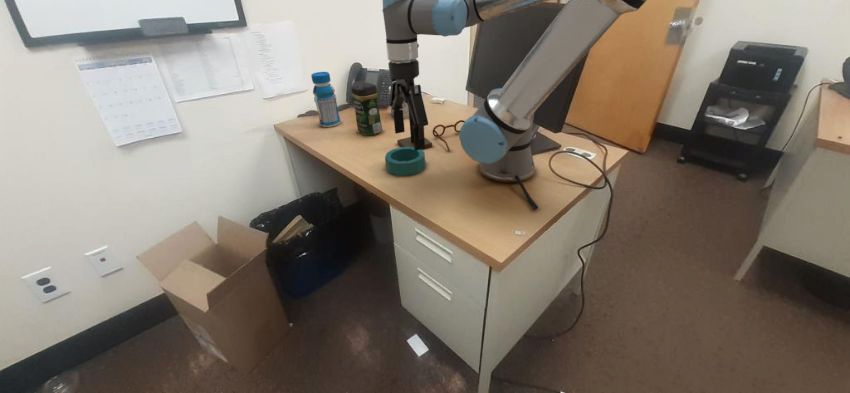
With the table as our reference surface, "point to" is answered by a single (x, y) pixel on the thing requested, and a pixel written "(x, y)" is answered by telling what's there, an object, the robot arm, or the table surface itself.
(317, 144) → the table surface
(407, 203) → the table surface
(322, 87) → the beverage bottle
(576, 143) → the table surface
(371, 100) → the coffee jar
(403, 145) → the peg stand
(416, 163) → the ring
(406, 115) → the ink box
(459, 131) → the glasses
